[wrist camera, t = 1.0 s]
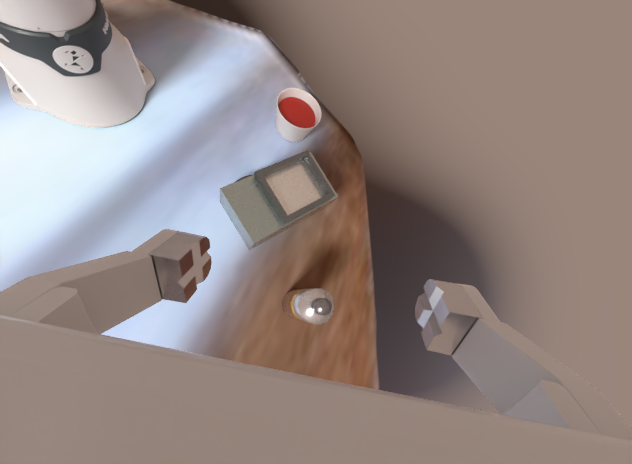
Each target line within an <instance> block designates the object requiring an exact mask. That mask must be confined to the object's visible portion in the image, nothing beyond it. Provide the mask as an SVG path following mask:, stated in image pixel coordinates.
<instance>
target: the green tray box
mask: <svg viewBox="0 0 632 464" xmlns="http://www.w3.org/2000/svg"><path fill="white" fill-rule="evenodd" d="M337 197H338V195H337V193H336V192H335V190H334V189H333V187H332V185H331V184H330V182H329V181H328V179H327V177H326V176H325V174H324V172H323V171H322V169H321V168H320V166H319V164H318V163H317V161H316V159H315V158H314V156H313V155H312V153H311V152H308V151H305V152H303V153H300V154H298V155H295V156H293V157H290V158H288V159H285V160H283V161H280V162H278V163H276V164H273V165H271V166H268V167H266V168H263V169H261V170H258V171H256V172H255V174H254V175H249V176H245V177H243V178H241V179H239V180H237V181H236V182H235V183H233V184H230V185H228V186H225V187H223V188H220V203H221V204H222V206H223V208H224V209H225V211H226V213H227V214H228V216H229V217H230V219H231V221H232V222H233V224H234V226H235V227H236V229H237V230H238V232H239V234H240V235H241V237H242V239H243V240H244V242H245V244H246V245H247V247H248V248H249V250H250V249H252V248H254V247H256V246H257V245H259V244H261V243H263V242H265V241H266V240H268V239H270V238H272V237H273V236H275V235H277V234H279V233H281V232H282V231H284V230H286V229H288V228H289V227H291V226H293V225H295V224H297V223H298V222H300V221H302V220H304V219H305V218H307V217H309V216H311V215H313V214H314V213H316V212H318V211H320V210H321V209H323V208H325V207H326V206H328V205H329V204H330V203H331V202H333V201H334V200H335V199H336V198H337Z"/></svg>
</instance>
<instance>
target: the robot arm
mask: <svg viewBox="0 0 632 464" xmlns="http://www.w3.org/2000/svg"><path fill="white" fill-rule="evenodd" d="M0 66H1V67H2V68H3V69H4V71H5V75H6V78H7V82H8V86H9V89H10V93H11V96H12V98H13V99H14V101H15V102H16V103H17V104H18V105H19V106H21V107H24V108H28V109H32V110H37V111H43V112H46V113H49V114H51V115H53V116H55V117H57V118H59V119H61V120H63V121H65V122H68V123H71V124H75V125H79V126H84V127H94V128H101V127H111V126H115V125H119V124H122V123H124V122H127V121H129V120H130V119H132V118H133V117H135V116H136V115H137V114H138V113H139V112H140V110H141V109H142V107H143V105H144V102H145V97H146V93H147V91H149V90H150V89H151V88H152V86H153V85H154V84H155V79H154V76H153V74H152V73H151V72H150V71H149V70H148V69H147V67H146V66H145V65H144V64H143V63H142V62H141V61H140V60H139V59H138V58H137V56H136V55H135V54H134V52H133V50H132V47H131V45H130V43H129V41H128V39H127V38H126V37H124V36H123V35H122V34H121V33H120V32H119V30H118V29H117V28H116V27H115V26H114V25H113V24H111V23H110V22H109V19H108V15H107V12H106V10H105V8H104V5H103V3H101V1H100V0H0ZM22 91H23V92H22ZM209 248H210V242H209V239H208V238H207V237H204V236H199V235H195V234H190V233H185V232H179V231H175V230H170V229H165V230H162V231H161V232H159V233H158V234H156V235H155V236H154V237H152V238H151V239H149V240H148V241H146V242H145V243H143V244H142V245H141V246H139V247H138V248H136V249H135V250H133V251H132V252H129V251H125V252H121V253H118V254H114V255H110V256H106V257H103V258H99V259H95V260H91V261H88V262H84V263H80V264H76V265H73V266H69V267H65V268H61V269H58V270H54V271H50V272H47V273H43V274H39V275H35V276H32V277H28V278H26V279H24V280H22V281H20V282H18V283H16V284H15V285H13V286H11V287H9V288H7V289H5V290H4V291H2V292H0V464H632V427H631V426H630V425H629V424H628V423H627V422H626V421H625V419H624V418H623V417H622V416H621V415H620V414H619V413H618V411H617V410H616V409H615V408H614V407H613V406H612V405H611V404H610V402H609V401H608V400H607V399H606V398H605V397H604V396H603V394H602V393H601V392H600V391H599V390H598V389H597V388H595V387H594V386H593V385H591V384H590V383H588V382H587V381H585V380H584V379H583V378H581V377H580V376H578V375H577V374H576V373H574V372H573V371H571V370H570V369H569V368H567V367H566V366H564V365H563V364H562V363H560V362H559V361H557V360H556V359H555V358H553V357H552V356H550V355H549V354H547V353H546V352H545V351H543V350H542V349H541V348H539V347H538V346H536V345H535V344H534V343H532V342H531V341H529V340H528V339H527V338H525V337H524V336H522V335H521V334H520V333H518V332H517V331H515V330H514V329H513V328H511V327H510V326H508V325H507V324H506V323H501V322H500V321H499V320H498V318H497V317H496V315H495V314H494V313H493V311H492V310H491V308H490V307H489V306H488V304H487V303H486V301H485V300H484V299H483V297H482V296H481V294H480V293H479V291H478V290H477V289H476V288H475V287H473V286H469V285H462V284H454V283H449V282H443V281H437V280H432V279H429V280H428V281H427V282H426V284H425V286H424V290H425V293H424V294H423V295H421V296H419V298H418V300H417V303H416V308H415V313H416V319H417V322H418V323H419V324H420V325H421V326H422V327H423V330H422V332H421V334H422V337H423V340H424V343H425V346H426V349H427V350H430V351H435V352H439V353H443V354H448V355H452V357H453V359H454V360H455V361H456V362H457V363H458V364H459V366H460V367H461V368H462V369H463V370H464V372H465V373H466V374H467V375H468V376H469V378H470V379H471V380H472V381H473V382H474V383H475V385H476V386H477V387H478V388H479V389H480V390H481V391H482V393H483V394H484V395H485V396H486V397H487V399H488V400H489V401H490V402H491V403H492V405H493V406H494V407H495V408H496V409H497V410H498V412H499V413H500V414H496V413H491V412H486V411H481V410H476V409H471V408H466V407H461V406H456V405H451V404H446V403H441V402H436V401H431V400H426V399H421V398H416V397H410V396H406V395H400V394H396V393H391V392H385V391H380V390H376V389H371V388H366V387H361V386H355V385H350V384H345V383H340V382H335V381H330V380H325V379H320V378H315V377H310V376H305V375H300V374H295V373H290V372H285V371H280V370H275V369H270V368H265V367H260V366H255V365H250V364H245V363H240V362H235V361H230V360H225V359H220V358H215V357H210V356H205V355H200V354H195V353H190V352H185V351H180V350H175V349H170V348H165V347H160V346H155V345H150V344H145V343H140V342H135V341H130V340H125V339H120V338H115V337H110V336H105V335H100V334H101V333H103V332H105V331H107V330H109V329H110V328H112V327H114V326H116V325H118V324H120V323H121V322H123V321H125V320H127V319H129V318H130V317H132V316H134V315H136V314H138V313H139V312H141V311H143V310H145V309H147V308H148V307H150V306H152V305H154V304H156V303H158V302H159V301H161V300H162V299H165V300H171V301H177V302H183V303H187V301H188V300H189V299H190V298H191V296H192V295H193V294H194V293H195V291H196V290H197V286H196V284H198V283H201V282H203V281H204V280H205V279H206V277H207V276H208V274H209V271H210V269H211V256H210V255H209V254H208V253H207V250H208V249H209Z"/></svg>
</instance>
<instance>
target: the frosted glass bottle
mask: <svg viewBox="0 0 632 464" xmlns="http://www.w3.org/2000/svg"><path fill="white" fill-rule="evenodd" d="M282 306H283V310H284V312H285V313H286V314H287V315H288V316H290V317H293V318H296V319H298V320H302V321H305V322H309V323H313V324H323V323H325V322H327V321H328V320H329V319H330V317H331V316H332V314H333V311H334V302H333V299H332V297H331V295H330V294H329V293H328V292H327V291H326V290H324V289H320V288H315V289H300V290H292V291H289V292H288V293H287V294H286V295H285V296H284V298H283V302H282Z"/></svg>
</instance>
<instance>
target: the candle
mask: <svg viewBox="0 0 632 464" xmlns="http://www.w3.org/2000/svg"><path fill="white" fill-rule="evenodd" d="M320 120H321V109H320V106H319V104H318V102H317V101H316V100H315V99H314V97H313V96H311V95H310V94H309V93H307V92H306V91H304V90H301V89H298V88H288V89H285V90H283V91H282V92H281V93H280V94H279V96H278V98H277V107H276V129H277V131H278V133H279V134H280V136H281V137H283V138H284V139H285V140H287V141H290V142H299V141H301V140H303V139H304V138H305V137H306V136H307V135H308V134H309V133H310V132H311V131H312V130H313V129H314V128H315V127H316V126H317V125H318V123H319V122H320Z"/></svg>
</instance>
